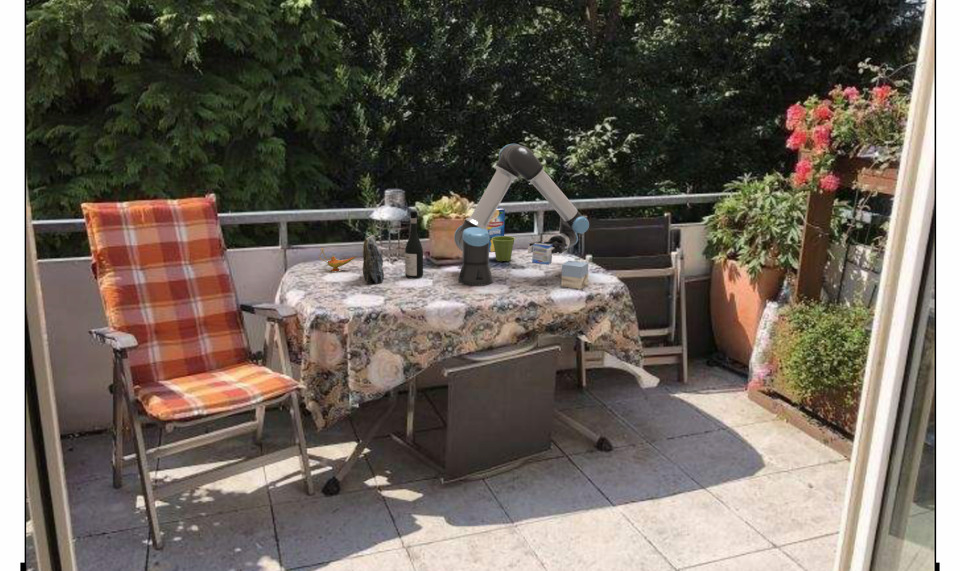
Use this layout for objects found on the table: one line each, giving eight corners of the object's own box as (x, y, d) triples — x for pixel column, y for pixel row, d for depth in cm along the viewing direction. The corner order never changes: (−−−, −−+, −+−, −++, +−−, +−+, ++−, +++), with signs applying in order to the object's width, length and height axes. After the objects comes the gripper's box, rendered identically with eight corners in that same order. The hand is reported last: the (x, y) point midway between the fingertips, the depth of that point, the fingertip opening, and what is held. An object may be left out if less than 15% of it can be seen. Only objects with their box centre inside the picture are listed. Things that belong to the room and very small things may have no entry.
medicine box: (531, 263, 343) (532, 243, 341) (534, 261, 347) (535, 242, 345) (548, 265, 340) (549, 245, 338) (551, 263, 344) (552, 243, 342)
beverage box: (504, 250, 409) (504, 209, 403) (485, 252, 404) (486, 210, 399) (498, 248, 415) (498, 207, 409) (479, 249, 410) (480, 208, 405)
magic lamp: (358, 272, 359) (357, 249, 357) (318, 272, 358) (317, 249, 355) (359, 268, 366) (358, 245, 363) (320, 269, 364) (319, 246, 361)
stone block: (383, 285, 338) (382, 240, 333) (362, 285, 337) (361, 240, 332) (385, 274, 355) (385, 232, 350) (366, 274, 355) (365, 231, 350)
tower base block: (580, 289, 336) (580, 278, 335) (561, 286, 340) (561, 275, 339) (588, 284, 344) (588, 273, 342) (569, 282, 348) (569, 271, 347)
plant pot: (503, 256, 395) (503, 235, 392) (519, 260, 387) (520, 238, 384) (486, 260, 387) (486, 237, 384) (502, 264, 379) (503, 241, 376)
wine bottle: (413, 279, 347) (413, 213, 339) (401, 276, 352) (400, 211, 345) (426, 276, 353) (426, 211, 345) (414, 273, 358) (414, 209, 350)
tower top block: (581, 278, 335) (581, 266, 334) (561, 275, 339) (562, 264, 337) (587, 273, 343) (588, 262, 341) (568, 271, 347) (569, 260, 345)
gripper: (579, 254, 353) (559, 263, 334) (537, 248, 363) (516, 256, 344) (580, 237, 351) (560, 246, 332) (538, 232, 361) (516, 240, 342)
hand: (538, 251), depth 338 cm, fingers closed on medicine box, 8 cm apart
